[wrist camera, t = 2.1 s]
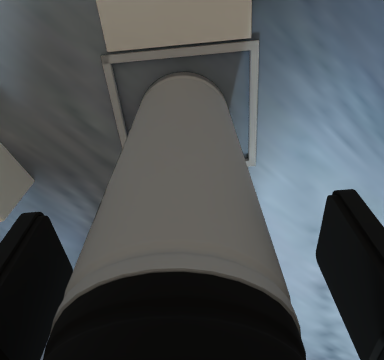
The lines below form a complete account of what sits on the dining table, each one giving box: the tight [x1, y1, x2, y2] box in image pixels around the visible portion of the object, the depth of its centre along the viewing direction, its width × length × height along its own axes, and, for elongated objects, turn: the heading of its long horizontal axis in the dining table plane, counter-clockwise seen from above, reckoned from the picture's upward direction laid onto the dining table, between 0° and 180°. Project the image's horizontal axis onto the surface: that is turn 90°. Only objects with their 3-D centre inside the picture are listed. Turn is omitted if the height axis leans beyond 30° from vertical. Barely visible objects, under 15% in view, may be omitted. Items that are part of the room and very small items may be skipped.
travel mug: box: [43, 72, 306, 360], centre depth 13 cm, size 6×7×20 cm
